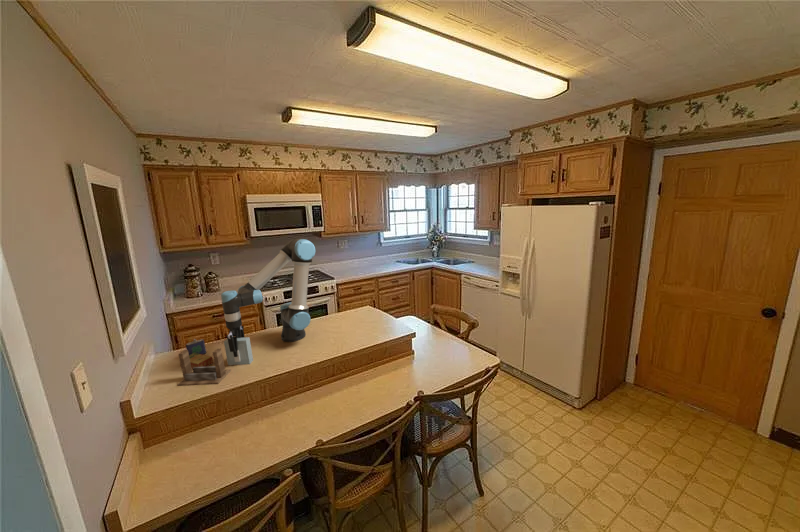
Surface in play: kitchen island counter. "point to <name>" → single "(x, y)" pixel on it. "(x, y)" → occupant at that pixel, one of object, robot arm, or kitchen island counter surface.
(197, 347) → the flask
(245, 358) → the door panel
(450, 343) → the kitchen island counter surface
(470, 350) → the kitchen island counter surface
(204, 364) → the carton
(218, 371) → the track frame
